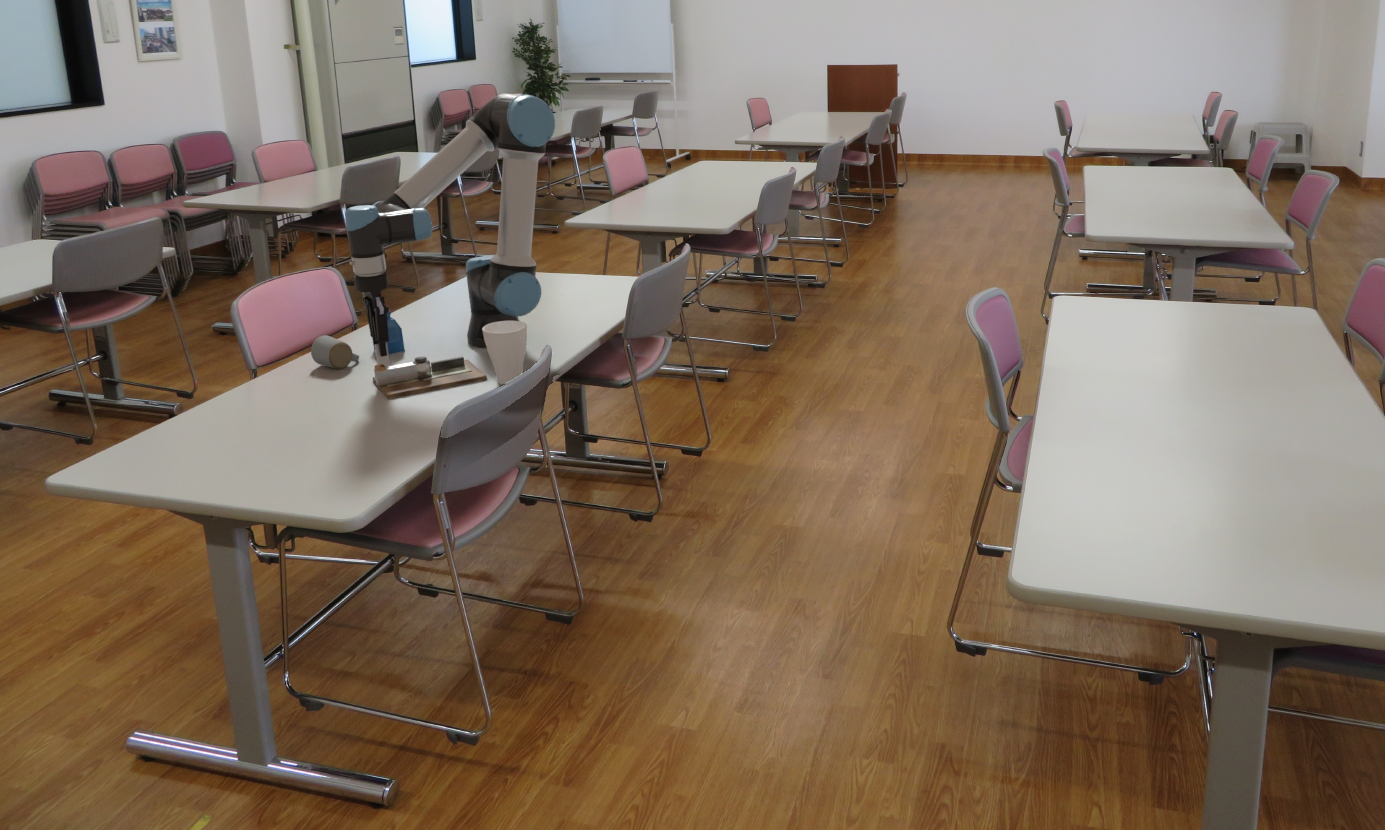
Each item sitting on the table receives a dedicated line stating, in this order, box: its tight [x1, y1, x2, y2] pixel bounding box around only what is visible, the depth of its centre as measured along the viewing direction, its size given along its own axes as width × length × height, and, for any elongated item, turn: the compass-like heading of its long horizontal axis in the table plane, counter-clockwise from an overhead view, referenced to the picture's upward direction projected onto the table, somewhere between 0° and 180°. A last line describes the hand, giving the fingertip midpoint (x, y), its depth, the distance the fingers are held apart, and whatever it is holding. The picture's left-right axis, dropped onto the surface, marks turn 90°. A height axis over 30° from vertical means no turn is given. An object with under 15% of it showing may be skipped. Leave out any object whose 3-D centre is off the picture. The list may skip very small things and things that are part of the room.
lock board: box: [372, 356, 488, 400], centre depth 257 cm, size 24×15×6 cm, turn 118°
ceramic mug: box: [310, 334, 360, 370], centre depth 271 cm, size 11×8×8 cm
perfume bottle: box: [371, 305, 406, 355], centre depth 280 cm, size 6×6×12 cm
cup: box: [482, 320, 528, 385], centre depth 254 cm, size 10×10×14 cm
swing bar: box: [373, 359, 431, 387], centre depth 255 cm, size 13×4×4 cm, turn 118°
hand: (384, 367), depth 259 cm, fingers closed
